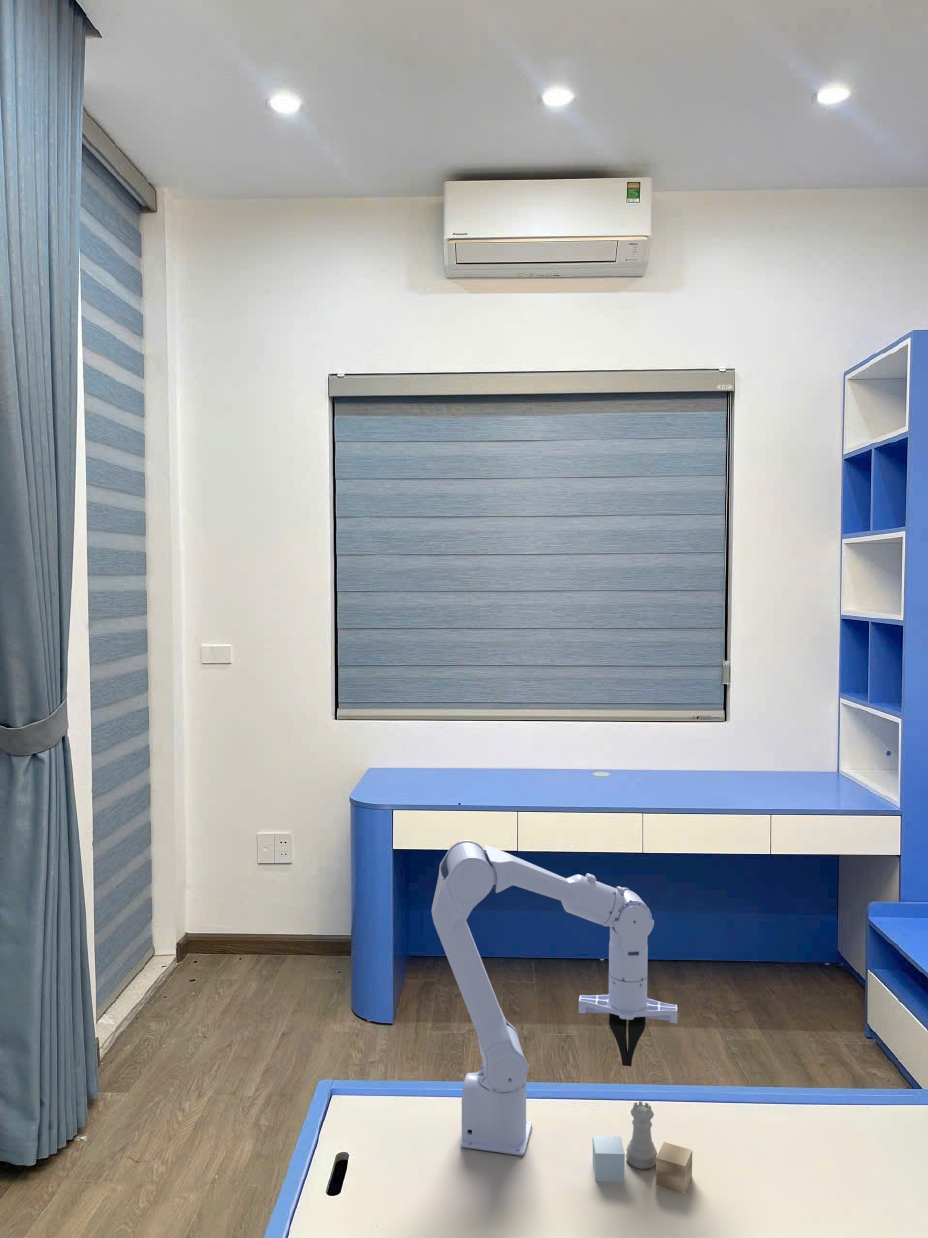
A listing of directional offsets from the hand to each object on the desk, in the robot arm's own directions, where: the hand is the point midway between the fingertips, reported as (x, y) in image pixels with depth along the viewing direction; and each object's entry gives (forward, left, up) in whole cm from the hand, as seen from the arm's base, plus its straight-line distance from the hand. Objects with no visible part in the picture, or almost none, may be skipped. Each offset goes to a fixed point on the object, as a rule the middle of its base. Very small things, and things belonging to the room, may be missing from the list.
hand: (627, 1062), depth 139 cm
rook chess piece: (+3, -7, -11) cm, 13 cm away
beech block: (+7, -10, -10) cm, 16 cm away
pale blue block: (-2, -10, -10) cm, 15 cm away
